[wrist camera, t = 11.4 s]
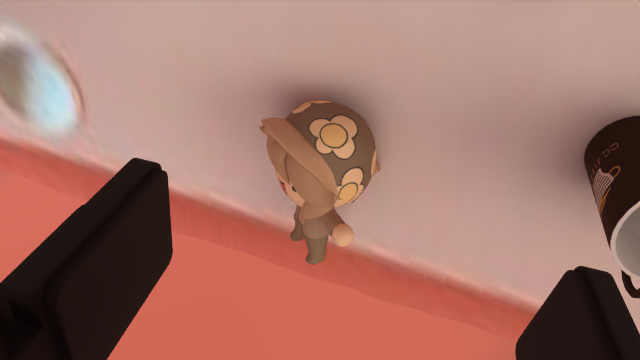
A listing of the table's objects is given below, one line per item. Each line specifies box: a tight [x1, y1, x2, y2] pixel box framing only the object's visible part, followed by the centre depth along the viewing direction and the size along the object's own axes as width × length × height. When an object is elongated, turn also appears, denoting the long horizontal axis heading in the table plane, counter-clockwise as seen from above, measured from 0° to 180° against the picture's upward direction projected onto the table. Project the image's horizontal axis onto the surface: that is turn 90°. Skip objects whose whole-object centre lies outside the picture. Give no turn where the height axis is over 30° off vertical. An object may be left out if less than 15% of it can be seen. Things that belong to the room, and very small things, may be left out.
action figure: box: [259, 100, 380, 265], centre depth 38 cm, size 10×11×15 cm
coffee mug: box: [584, 116, 640, 298], centre depth 32 cm, size 12×9×10 cm
